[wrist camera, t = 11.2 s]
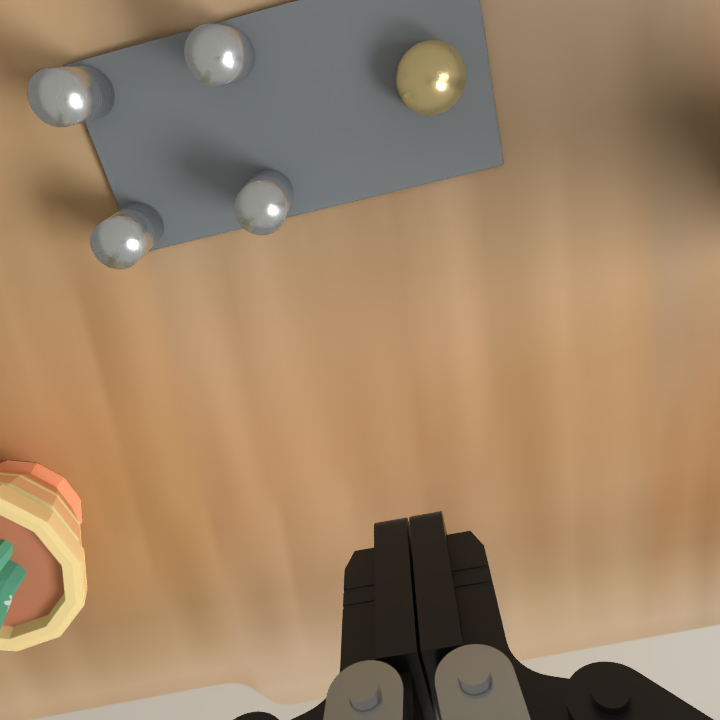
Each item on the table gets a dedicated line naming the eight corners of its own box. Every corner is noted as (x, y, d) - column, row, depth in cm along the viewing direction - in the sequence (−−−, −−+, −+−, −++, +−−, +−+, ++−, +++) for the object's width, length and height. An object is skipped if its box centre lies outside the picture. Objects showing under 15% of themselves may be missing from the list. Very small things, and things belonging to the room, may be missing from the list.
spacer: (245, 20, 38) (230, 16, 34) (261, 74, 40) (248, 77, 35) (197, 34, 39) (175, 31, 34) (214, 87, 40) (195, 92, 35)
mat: (471, -48, 37) (472, -49, 37) (502, 164, 42) (503, 164, 42) (65, 65, 40) (62, 65, 39) (139, 252, 45) (137, 253, 44)
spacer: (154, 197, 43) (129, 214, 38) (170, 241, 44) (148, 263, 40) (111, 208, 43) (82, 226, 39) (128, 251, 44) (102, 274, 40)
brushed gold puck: (453, 31, 39) (458, 31, 37) (467, 102, 40) (471, 104, 38) (388, 51, 39) (389, 51, 37) (403, 119, 41) (405, 123, 39)
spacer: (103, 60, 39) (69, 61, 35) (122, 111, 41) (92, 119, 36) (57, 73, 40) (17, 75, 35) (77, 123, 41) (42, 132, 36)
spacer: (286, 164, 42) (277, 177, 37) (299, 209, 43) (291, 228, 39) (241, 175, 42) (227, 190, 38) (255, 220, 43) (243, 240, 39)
